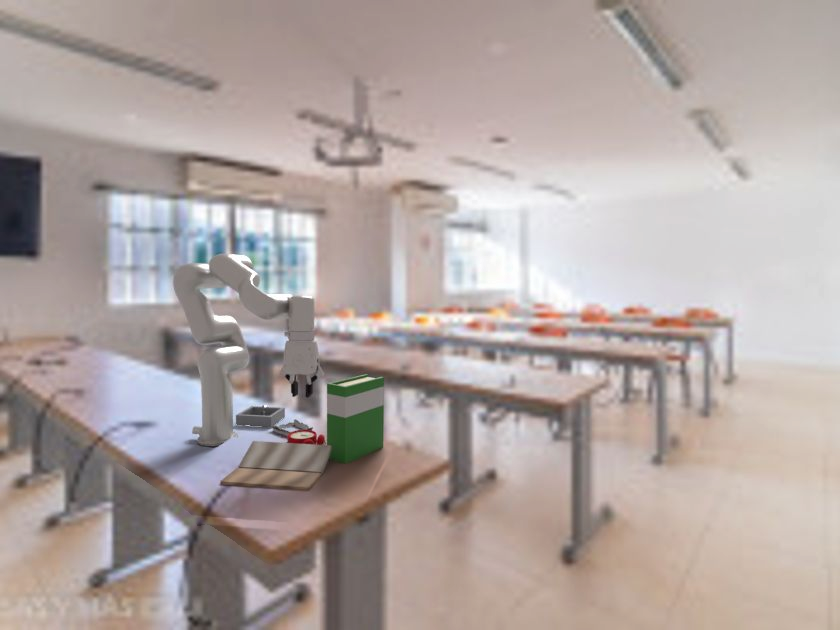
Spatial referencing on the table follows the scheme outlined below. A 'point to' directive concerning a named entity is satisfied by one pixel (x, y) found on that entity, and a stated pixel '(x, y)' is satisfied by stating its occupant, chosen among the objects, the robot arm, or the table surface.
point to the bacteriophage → (264, 410)
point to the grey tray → (260, 416)
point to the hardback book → (355, 417)
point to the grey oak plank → (286, 457)
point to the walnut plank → (271, 478)
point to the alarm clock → (305, 437)
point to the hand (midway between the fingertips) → (301, 395)
